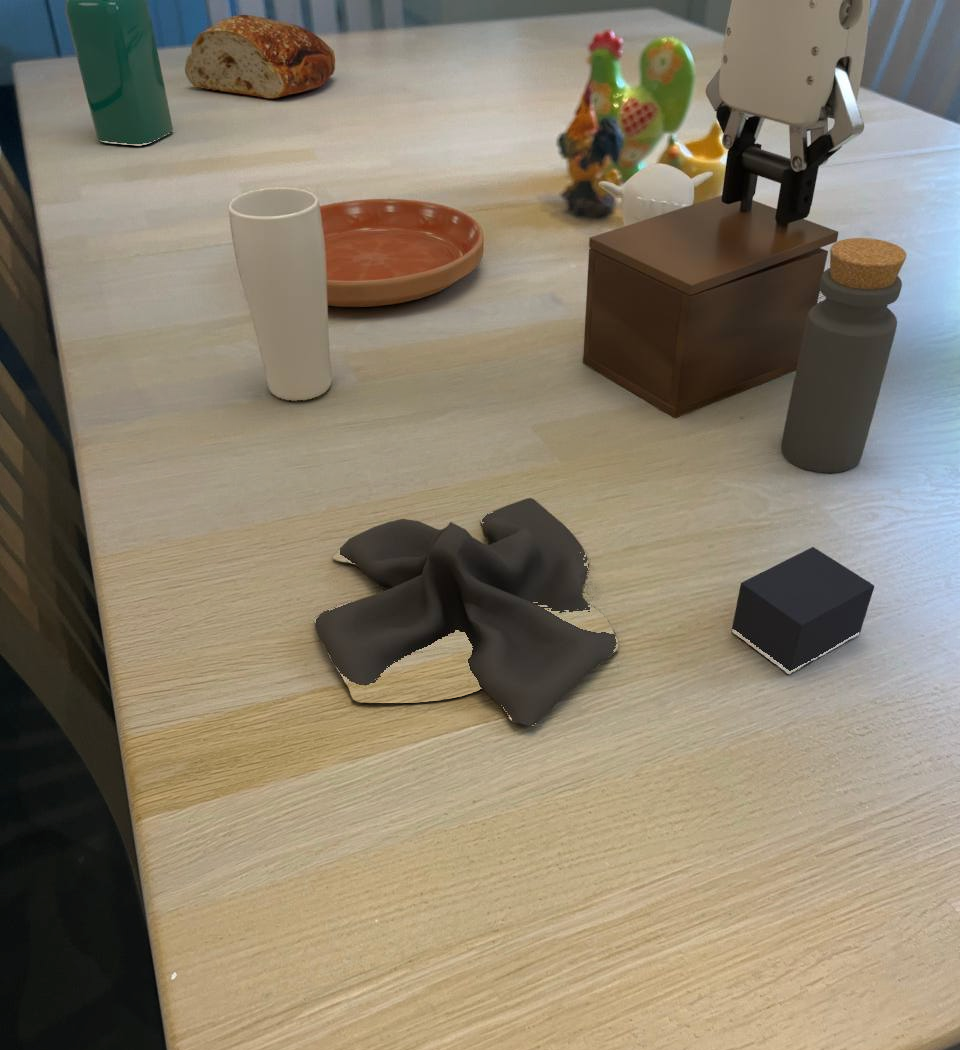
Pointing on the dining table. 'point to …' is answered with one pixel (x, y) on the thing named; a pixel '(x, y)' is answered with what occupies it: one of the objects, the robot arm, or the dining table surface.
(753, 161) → the box lid
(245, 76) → the bread
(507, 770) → the dining table surface
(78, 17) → the pitcher
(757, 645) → the matte black cuboid
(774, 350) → the wooden box
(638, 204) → the figurine
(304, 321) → the drinking glass
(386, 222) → the saucer
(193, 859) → the dining table surface
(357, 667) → the cloth
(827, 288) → the bottle
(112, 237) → the dining table surface
